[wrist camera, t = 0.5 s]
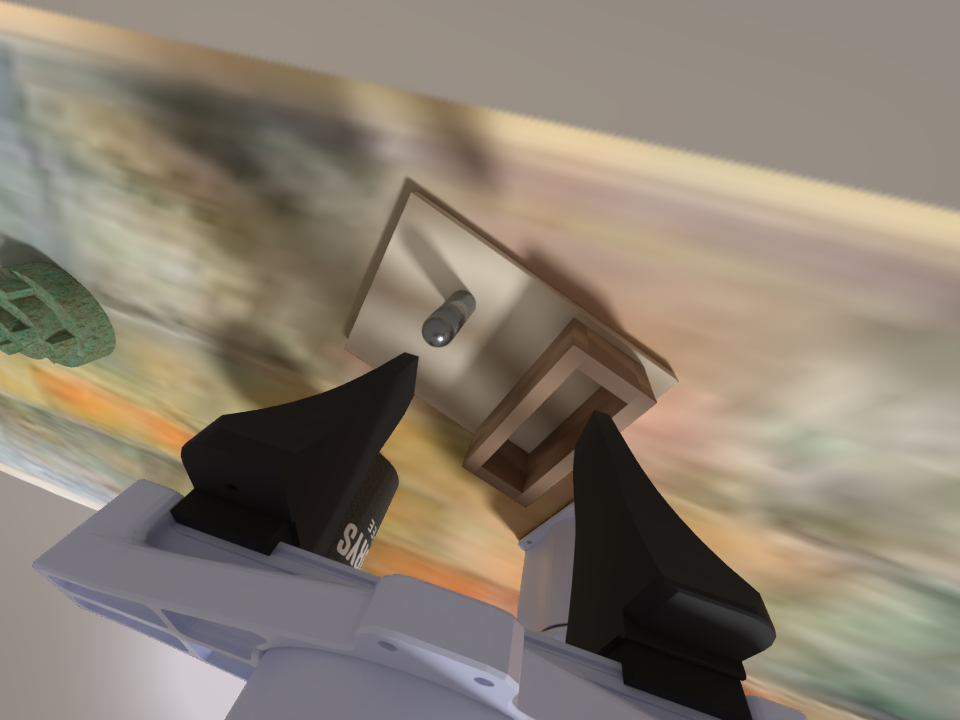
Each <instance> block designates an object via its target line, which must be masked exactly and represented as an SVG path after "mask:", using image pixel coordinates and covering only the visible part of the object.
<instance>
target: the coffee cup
mask: <svg viewBox="0 0 960 720" xmlns="http://www.w3.org/2000/svg"><path fill="white" fill-rule="evenodd" d="M398 484H399V479H398V475H397V473H396V471H395V469H394V468H393V466H392V465H391V464H390V463H389V462H388V461H387V460H386V459H385V458H383V457H382V456H380V455H379V454H377V456H376V457H375V459H374V461H373V462H372V464H371V465H370V467H369V469H368V471H367V473H366V475H365V477H364V478H363V480H362V482H361V484H360V486H359V488H358V490H357V492H356V494H355V496H354V498H353V500H352V501H351V503H350V505H349V507H348V509H347V511H346V513H345V515H344V517H343V520H342V522H341V524H340V526H339V528H338V530H337V532H336V534H335V536H334V538H333V540H332V542H331V545H330V547H329V549H328V551H327V553H326V555H325V558H328V559H331V560H334V561H336V562H339V563H342V564H345V565H348V566H350V567H353V568H356V569H359V570H360V569H361V566H362V564H363V562H364V560H365V558H366V555H367V553H368V551H369V549H370V547H371V544H372V542H373V540H374V538H375V536H376V533H377V531H378V529H379V527H380V525H381V522H382V520H383V518H384V516H385V514H386V512H387V509H388V507H389V505H390V503H391V501H392V498H393V496H394V494H395V492H396V490H397V487H398Z"/></svg>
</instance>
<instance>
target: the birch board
mask: <svg viewBox="0 0 960 720" xmlns="http://www.w3.org/2000/svg"><path fill="white" fill-rule="evenodd" d="M458 290H465V291H468V292H469V293H471V294H472V295H473V296H474V298H475V301H476V308H475V311H474V312H473V313H472V315H471V316H470V317H469V319H468V320H467V321H466V323H465V324H464V325H463V327H462V328H461V329H460V331H459V332H458V333H457V335H456V336H455V337H454V339H453V340H452V341H451V342H450V343H449V344H448V345H447V346H444V347H441V348H437V347H432V346H430V345H429V344H427V343H426V342H425V340H424V339H423V336H422V325H423V323H424V321H425V320H426V319H427V318H428V317H429V316H430V315H431V314H432V313H433V312H434V311H435V310H436V309H437V308H439V307H440V306H441V305H442V304H443V303H444V302H445V301H446V300H447V299H448V298H449V297H450V296H451V295H452V294H453V293H454V292H456V291H458ZM573 318H576V319H577V320H578V321H580V322H581V323H583V324H584V325H585V326H587V327H588V328H590V329H591V330H593V331H594V332H595V333H597V334H598V335H600V336H601V337H602V338H604V339H605V340H607V341H608V342H610V343H611V344H612V345H614V346H615V347H617V348H618V349H620V350H621V351H622V352H624V353H625V354H627V355H628V356H629V357H631V358H632V359H634V360H635V361H637V362H638V363H639V364H641V365H642V366H644V368H645V371H646V374H647V376H648V379H649V382H650V385H651V387H652V390H653V393H654V396H655V398H656V399H657V398H659V397H660V396H661V395H662V394H664V393H665V392H666V391H667V390H669V389H670V388H671V387H672V386H673V385H675V384H676V383H677V382H678V379H677V377H676V376H675V374H674V373H673V372H672V371H670V370H669V369H667V368H666V367H665V366H663V365H662V364H660V363H659V362H658V361H656V360H655V359H653V358H652V357H650V356H649V355H648V354H646V353H645V352H643V351H642V350H641V349H639V348H638V347H636V346H635V345H634V344H632V343H631V342H629V341H628V340H626V339H625V338H624V337H622V336H621V335H619V334H618V333H617V332H615V331H614V330H612V329H611V328H610V327H608V326H607V325H605V324H604V323H603V322H601V321H600V320H598V319H597V318H595V317H594V316H593V315H591V314H590V313H588V312H587V311H586V310H584V309H583V308H581V307H580V306H579V305H577V304H576V303H574V302H573V301H571V300H570V299H569V298H567V297H566V296H564V295H563V294H562V293H560V292H559V291H557V290H556V289H555V288H553V287H552V286H550V285H549V284H547V283H546V282H545V281H543V280H542V279H540V278H539V277H538V276H536V275H535V274H533V273H532V272H531V271H529V270H528V269H526V268H525V267H524V266H522V265H521V264H519V263H518V262H516V261H515V260H514V259H512V258H511V257H509V256H508V255H507V254H505V253H504V252H502V251H501V250H500V249H498V248H497V247H495V246H494V245H492V244H491V243H490V242H488V241H487V240H485V239H484V238H483V237H481V236H480V235H478V234H477V233H476V232H474V231H473V230H471V229H470V228H469V227H467V226H466V225H464V224H463V223H461V222H460V221H459V220H457V219H456V218H454V217H453V216H452V215H450V214H449V213H447V212H446V211H445V210H443V209H442V208H440V207H439V206H437V205H436V204H435V203H433V202H432V201H430V200H429V199H428V198H426V197H425V196H423V195H422V194H421V193H419V192H411V194H410V196H409V199H408V201H407V203H406V206H405V208H404V210H403V213H402V215H401V217H400V220H399V222H398V224H397V227H396V229H395V231H394V233H393V236H392V238H391V240H390V243H389V245H388V247H387V250H386V252H385V254H384V257H383V259H382V261H381V264H380V266H379V268H378V271H377V273H376V275H375V278H374V280H373V282H372V285H371V287H370V289H369V291H368V294H367V296H366V298H365V301H364V303H363V305H362V308H361V310H360V312H359V315H358V317H357V319H356V322H355V324H354V326H353V329H352V331H351V333H350V336H349V338H348V340H347V343H346V345H345V347H344V349H345V350H347V351H348V352H350V353H351V354H353V355H354V356H356V357H357V358H359V359H361V360H362V361H364V362H365V363H367V364H368V365H370V366H371V367H373V368H374V369H376V368H378V367H379V366H381V365H383V364H385V363H386V362H388V361H390V360H392V359H393V358H395V357H397V356H398V355H400V354H402V353H404V352H406V353H409V354H413V355H416V356H419V360H418V368H417V376H416V384H415V392H414V395H415V396H417V397H418V398H420V399H421V400H423V401H424V402H426V403H427V404H429V405H430V406H432V407H433V408H435V409H436V410H438V411H439V412H441V413H442V414H444V415H446V416H447V417H449V418H450V419H452V420H453V421H455V422H456V423H458V424H459V425H461V426H462V427H464V428H465V429H467V430H468V431H470V432H471V433H473V434H475V432H476V430H477V429H478V427H479V426H480V425H481V424H482V423H483V422H484V420H485V419H486V418H487V417H488V416H489V415H490V414H491V412H492V411H493V410H494V409H495V408H496V407H497V405H498V404H499V403H500V402H501V401H502V400H503V399H504V397H505V396H506V395H507V394H508V393H509V392H510V390H511V389H512V388H513V387H514V386H515V385H516V384H517V382H518V381H519V380H520V379H521V378H522V377H523V375H524V374H525V373H526V372H527V371H528V370H529V368H530V367H531V366H532V365H533V364H534V363H535V362H536V360H537V359H538V358H539V357H540V356H541V355H542V353H543V352H544V351H545V350H546V349H547V348H548V347H549V345H550V344H551V343H552V342H553V341H554V340H555V338H556V337H557V336H558V335H559V334H560V333H561V332H562V330H563V329H564V328H565V327H566V326H567V325H568V323H569V322H570V321H571V320H572V319H573ZM600 387H601V385H600V384H598V383H597V382H595V381H594V380H593V379H591V378H590V377H588V376H587V375H585V374H584V373H583V372H581V371H580V370H578V369H577V368H576V369H575V370H574V371H573V372H572V373H571V374H570V375H569V376H568V377H567V378H566V379H565V381H564V382H563V383H562V384H561V385H560V386H559V387H558V388H557V389H556V390H555V391H554V392H553V393H552V394H551V395H550V396H549V397H548V398H547V399H546V400H545V401H544V402H543V403H542V404H541V405H540V406H539V407H538V408H537V409H536V410H535V411H534V412H533V413H532V415H531V416H530V417H529V418H528V419H527V420H526V421H525V422H524V423H523V424H522V425H521V426H520V427H519V428H518V429H517V430H516V431H515V432H514V433H513V434H512V435H511V436H510V437H509V438H508V440H510V441H511V442H513V443H514V444H516V445H517V446H519V447H520V448H522V449H523V450H525V451H526V452H528V453H530V452H531V451H533V450H534V449H535V448H536V447H537V446H538V445H539V444H540V443H541V442H542V441H543V440H544V439H545V438H546V437H547V436H549V435H550V434H551V433H552V432H553V431H554V430H555V429H556V428H557V427H558V426H559V425H560V424H561V423H562V422H564V421H565V420H566V419H567V418H568V417H569V416H570V415H571V414H572V413H573V412H574V411H575V410H576V409H577V408H579V407H580V406H581V405H582V404H583V403H584V402H585V401H586V400H587V399H588V398H589V397H590V396H591V395H592V394H593V393H595V392H596V391H597V390H598V389H599V388H600Z"/></svg>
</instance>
